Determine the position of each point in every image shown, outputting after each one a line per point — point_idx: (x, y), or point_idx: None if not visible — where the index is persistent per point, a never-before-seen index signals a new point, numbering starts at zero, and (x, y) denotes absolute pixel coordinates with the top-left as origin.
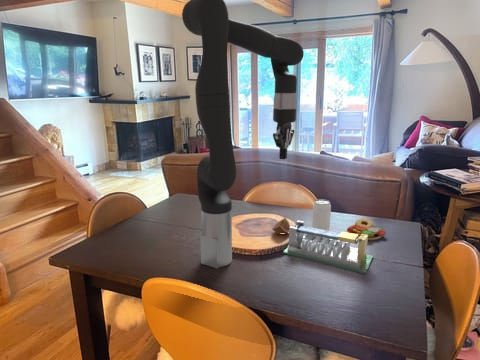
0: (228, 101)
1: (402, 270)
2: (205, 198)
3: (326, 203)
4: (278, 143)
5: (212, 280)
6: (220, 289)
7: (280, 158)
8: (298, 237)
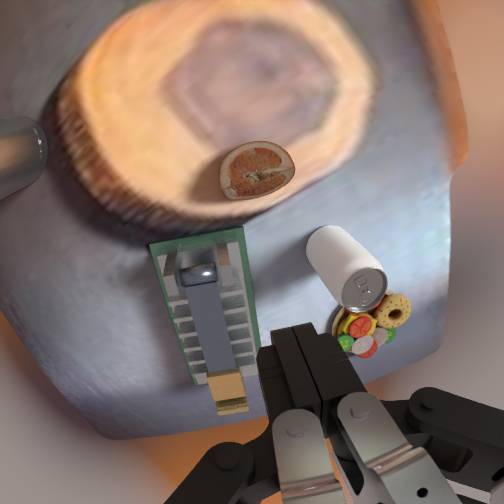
0: None
1: (249, 406)
2: None
3: (360, 302)
4: (237, 489)
5: None
6: None
7: (272, 337)
8: (217, 253)
